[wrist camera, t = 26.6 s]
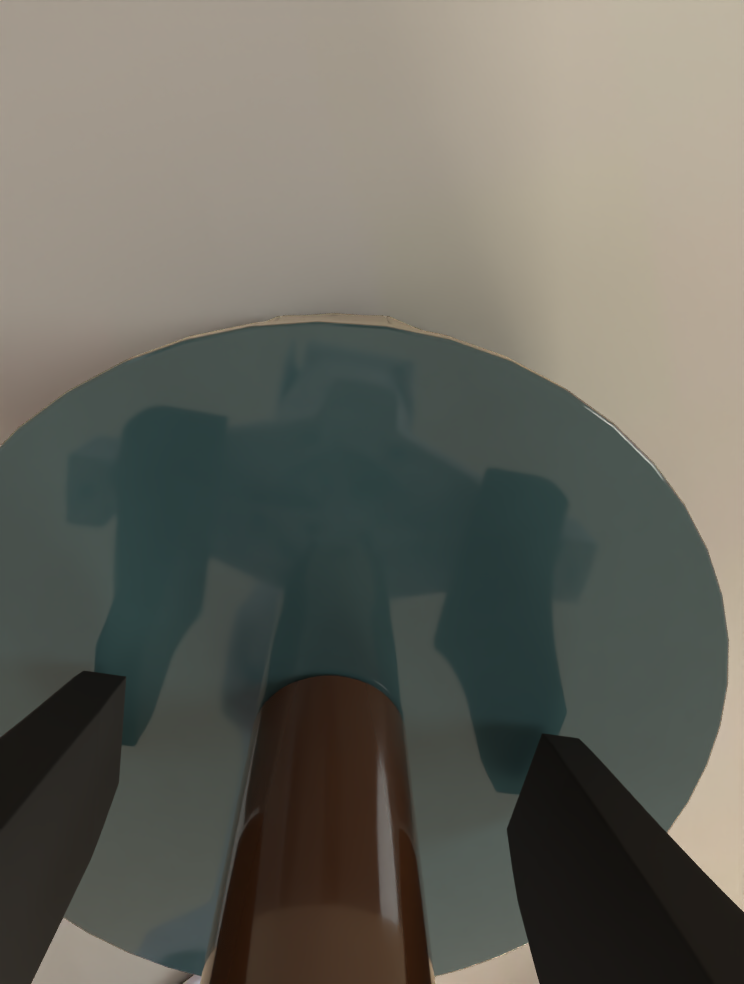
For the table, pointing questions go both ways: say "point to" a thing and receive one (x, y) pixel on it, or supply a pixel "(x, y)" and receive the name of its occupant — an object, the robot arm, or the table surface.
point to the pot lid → (346, 637)
